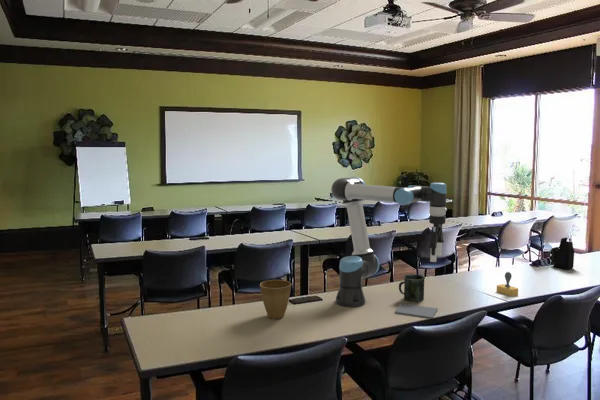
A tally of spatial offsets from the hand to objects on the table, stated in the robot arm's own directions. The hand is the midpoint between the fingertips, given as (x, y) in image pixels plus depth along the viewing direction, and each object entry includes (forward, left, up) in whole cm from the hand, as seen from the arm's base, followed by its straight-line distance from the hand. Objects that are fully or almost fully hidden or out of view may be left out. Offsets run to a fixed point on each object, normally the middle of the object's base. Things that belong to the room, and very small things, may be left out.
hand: (436, 258), depth 243 cm
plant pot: (-67, -39, -27) cm, 82 cm away
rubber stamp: (+30, +49, -27) cm, 63 cm away
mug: (-15, +15, -27) cm, 34 cm away
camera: (+58, +125, -27) cm, 140 cm away
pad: (-8, -3, -27) cm, 28 cm away
